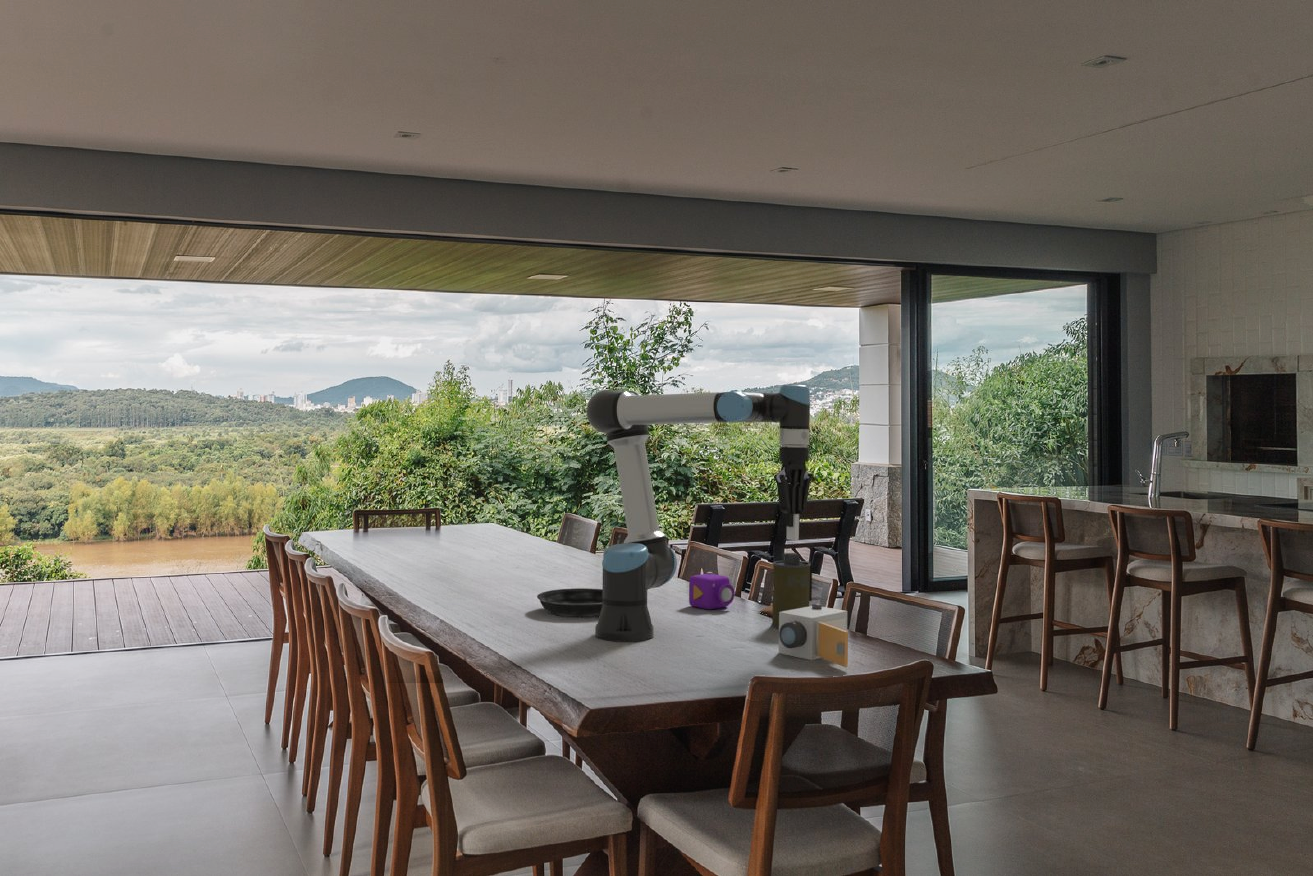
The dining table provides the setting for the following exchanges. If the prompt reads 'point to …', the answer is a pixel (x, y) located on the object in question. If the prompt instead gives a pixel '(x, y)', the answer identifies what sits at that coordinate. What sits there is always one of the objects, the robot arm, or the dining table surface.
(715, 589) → the toy camera
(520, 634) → the dining table surface
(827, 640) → the battery door
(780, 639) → the camera body
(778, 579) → the canister
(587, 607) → the frying pan
